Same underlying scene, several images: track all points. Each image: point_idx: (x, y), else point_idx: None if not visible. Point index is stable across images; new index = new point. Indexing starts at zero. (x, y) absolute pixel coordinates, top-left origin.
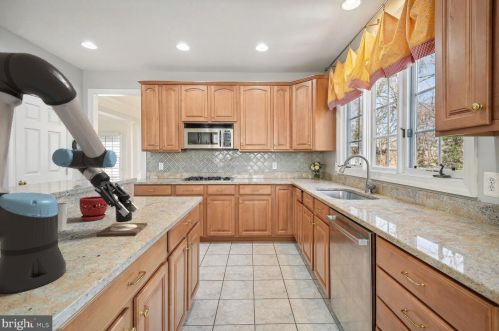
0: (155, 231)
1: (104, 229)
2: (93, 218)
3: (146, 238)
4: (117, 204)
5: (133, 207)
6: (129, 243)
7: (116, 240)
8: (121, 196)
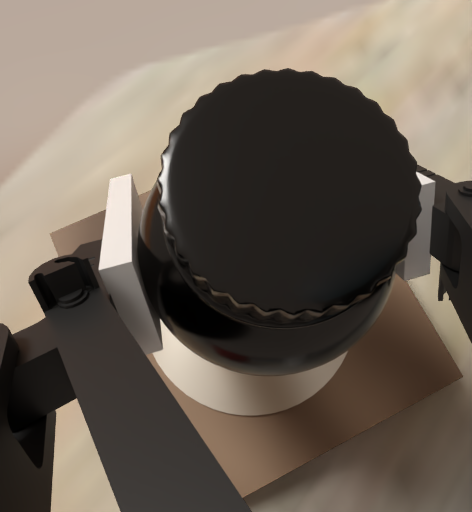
0: (183, 79)
1: (359, 419)
2: None
3: (322, 38)
4: (439, 189)
5: (138, 213)
6: (431, 63)
7: (433, 170)
8: (391, 139)
